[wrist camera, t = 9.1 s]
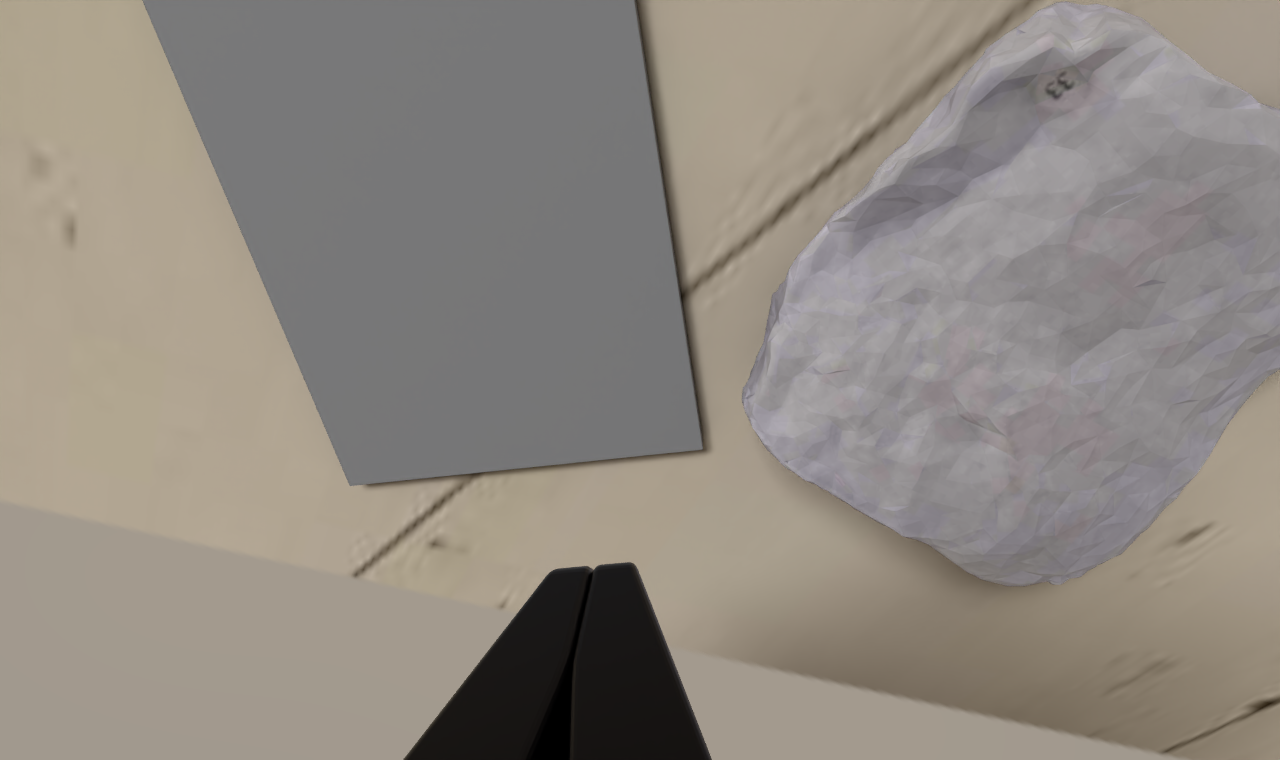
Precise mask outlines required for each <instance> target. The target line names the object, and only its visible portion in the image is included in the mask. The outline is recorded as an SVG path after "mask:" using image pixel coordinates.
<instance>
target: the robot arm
mask: <svg viewBox="0 0 1280 760" xmlns="http://www.w3.org/2000/svg"><path fill="white" fill-rule="evenodd" d="M404 760H712V759H711V756H710V754H709V751H708V748H707V746H706V743H705V741H704V738H703V736H702V733H701V730H700V728H699V725H698V723H697V720H696V718H695V715H694V712H693V710H692V708H691V705H690V702H689V700H688V697H687V695H686V692H685V689H684V687H683V684H682V682H681V679H680V677H679V674H678V671H677V669H676V667H675V664H674V661H673V659H672V656H671V654H670V651H669V648H668V646H667V643H666V641H665V638H664V636H663V633H662V630H661V628H660V625H659V623H658V620H657V618H656V615H655V612H654V610H653V607H652V605H651V602H650V600H649V597H648V594H647V592H646V589H645V587H644V584H643V582H642V579H641V576H640V574H639V571H638V569H637V567H636V565H635V564H633V563H631V562H627V563H616V564H604V565H599V566H597V567H596V568H595V569H594V570H593V569H592V568H590V567H588V566H582V567H571V568H560V569H555V570H553V571H551V572H550V573H549V574H548V575H547V576H546V577H545V579H544V580H543V581H542V582H541V584H540V585H539V586H538V588H537V589H536V590H535V591H534V593H533V594H532V595H531V597H530V598H529V599H528V600H527V602H526V603H525V604H524V606H523V607H522V608H521V609H520V611H519V612H518V613H517V615H516V616H515V617H514V618H513V620H512V621H511V622H510V624H509V625H508V626H507V627H506V629H505V630H504V631H503V633H502V634H501V635H500V636H499V638H498V639H497V640H496V642H495V643H494V644H493V645H492V647H491V648H490V649H489V650H488V652H487V653H486V654H485V656H484V657H483V658H482V660H481V661H480V662H479V663H478V665H477V666H476V667H475V669H474V670H473V671H472V672H471V674H470V675H469V676H468V677H467V679H466V680H465V681H464V683H463V684H462V685H461V686H460V688H459V689H458V690H457V691H456V693H455V694H454V695H453V697H452V698H451V699H450V701H449V702H448V703H447V704H446V706H445V707H444V708H443V709H442V711H441V712H440V713H439V715H438V716H437V717H436V718H435V720H434V721H433V722H432V724H431V725H430V726H429V728H428V729H427V730H426V731H425V733H424V734H423V735H422V736H421V738H420V739H419V740H418V742H417V743H416V744H415V745H414V747H413V748H412V749H411V751H410V752H409V753H408V754H407V756H406V757H405V758H404Z"/></svg>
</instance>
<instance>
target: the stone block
mask: <svg viewBox="0 0 1280 760" xmlns="http://www.w3.org/2000/svg"><path fill="white" fill-rule="evenodd" d="M1279 369H1280V109H1277V108H1274V107H1271V106H1267V105H1264V104H1261V103H1258V101H1257V100H1256V99H1255V98H1254V97H1253V96H1252V95H1251V94H1249V93H1247V92H1246V91H1244V90H1242V89H1241V88H1239V87H1237V86H1235V85H1234V84H1232V83H1230V82H1228V81H1226V80H1224V79H1222V78H1220V77H1217V76H1215V75H1213V74H1211V73H1209V72H1207V71H1206V70H1205V69H1204V68H1202V67H1201V66H1200V65H1199V64H1198V63H1197V62H1195V61H1194V60H1193V59H1192V58H1191V57H1189V56H1188V55H1187V54H1186V53H1184V52H1183V51H1182V50H1180V49H1179V48H1178V47H1176V46H1175V45H1174V44H1173V43H1171V42H1170V41H1169V40H1168V39H1166V38H1165V37H1164V36H1163V35H1162V34H1161V33H1160V32H1158V31H1157V30H1156V29H1155V28H1154V27H1152V26H1151V25H1150V24H1149V23H1148V22H1146V21H1145V20H1144V19H1143V18H1140V17H1138V16H1135V15H1132V14H1129V13H1126V12H1124V11H1121V10H1118V9H1115V8H1113V7H1109V6H1105V5H1100V4H1092V5H1078V4H1074V3H1070V2H1058V3H1054V4H1052V5H1050V6H1048V7H1046V8H1043V9H1041V10H1038V11H1037V12H1036V13H1035V14H1034V15H1033V16H1032V17H1031V18H1030V19H1029V20H1027V21H1026V22H1024V23H1022V24H1021V25H1019V26H1018V27H1016V28H1015V29H1013V30H1011V31H1010V32H1008V33H1007V34H1005V35H1004V36H1003V37H1001V38H1000V39H999V40H997V41H996V42H995V43H993V44H992V45H991V46H989V47H988V48H987V49H986V50H985V52H984V54H983V56H982V57H981V58H980V59H979V60H978V61H977V62H976V63H975V64H974V65H973V66H972V67H971V68H970V69H969V70H968V71H967V73H966V74H965V75H964V76H963V77H962V78H961V79H960V81H959V82H958V83H957V84H956V85H955V87H954V88H953V89H952V90H950V91H949V92H948V93H947V94H946V95H945V96H944V98H943V99H942V100H941V102H940V103H939V104H938V106H937V107H936V108H935V109H934V111H933V112H932V113H931V114H930V115H929V116H928V117H927V118H926V120H925V121H924V122H923V123H922V124H921V125H920V126H919V127H918V128H917V130H916V131H915V132H914V133H913V135H912V136H911V137H910V139H909V140H908V141H907V143H905V144H904V145H902V146H900V147H899V148H897V149H895V151H894V153H893V154H892V155H890V156H889V157H888V158H887V159H886V160H885V161H884V162H883V163H882V164H881V165H880V167H879V168H878V169H877V171H876V173H875V175H874V176H873V178H872V179H871V180H870V181H869V182H868V184H867V185H866V186H865V187H864V188H863V189H862V190H861V191H860V192H859V193H858V194H857V195H856V196H855V197H854V198H853V199H851V200H850V201H849V202H848V203H847V204H846V205H844V206H843V207H842V208H840V209H839V210H838V211H836V212H835V213H834V214H833V215H832V217H831V218H830V219H829V220H828V222H827V223H826V224H825V225H824V227H823V228H822V229H821V230H820V232H819V233H818V234H817V235H816V237H815V238H814V239H813V240H812V241H811V242H810V243H809V244H808V245H807V246H806V247H805V249H804V250H803V251H802V252H801V253H800V254H799V255H798V256H797V257H796V259H795V260H794V262H793V264H792V265H791V267H790V269H789V271H788V274H787V276H786V280H785V281H784V282H783V283H782V284H780V286H779V288H778V290H777V291H776V292H775V293H773V295H772V300H771V306H770V311H769V316H768V320H767V326H766V333H765V338H764V343H763V345H762V347H761V349H760V351H759V353H758V355H757V357H756V361H755V364H754V366H753V368H752V371H751V373H750V378H749V380H748V382H747V383H746V385H745V386H744V388H743V393H742V403H743V406H744V409H745V413H746V414H747V416H748V418H749V421H750V423H751V424H752V427H753V429H754V430H755V432H756V433H757V435H758V437H759V438H760V440H761V441H762V443H763V444H764V446H765V447H766V449H767V450H768V451H769V452H770V453H771V454H772V455H774V456H775V457H776V458H777V459H778V461H779V462H780V463H781V464H782V465H783V466H784V467H785V468H787V469H789V470H790V471H792V472H794V473H796V474H797V475H798V476H799V477H801V478H803V479H804V480H806V481H808V482H810V483H813V484H816V485H817V486H819V487H820V488H821V489H824V490H827V491H828V492H829V493H831V494H832V495H834V496H836V497H838V498H839V499H841V500H842V501H844V502H846V503H847V504H849V505H850V506H852V507H853V508H855V509H856V510H858V511H860V512H862V513H863V514H865V515H867V516H868V517H870V518H872V519H874V520H875V521H877V522H879V523H881V524H883V525H885V526H887V527H889V528H891V529H893V530H894V531H896V532H897V533H899V534H900V535H902V536H903V537H907V538H911V539H915V540H918V541H921V542H923V543H926V544H928V545H930V546H931V547H932V548H934V549H935V550H936V551H938V552H939V553H941V554H942V555H944V556H945V557H946V558H948V559H949V560H951V561H952V562H953V563H955V564H956V565H958V566H959V567H961V568H962V569H964V570H965V571H966V572H968V573H970V574H972V575H974V576H976V577H978V578H980V579H982V580H985V581H989V582H993V583H998V584H1002V585H1005V586H1027V585H1032V584H1036V583H1041V582H1046V581H1047V582H1049V583H1051V584H1063V583H1064V582H1065V581H1067V580H1068V579H1071V578H1076V577H1081V576H1082V575H1083V574H1084V573H1086V572H1087V571H1088V570H1090V569H1093V568H1095V567H1096V566H1097V565H1099V564H1102V563H1104V562H1105V561H1107V560H1109V559H1111V558H1113V557H1115V556H1118V555H1120V554H1122V553H1123V552H1124V551H1125V550H1126V549H1127V548H1128V547H1129V546H1130V545H1131V544H1132V543H1133V541H1134V540H1135V539H1136V538H1137V537H1138V536H1139V535H1140V534H1141V533H1142V532H1144V531H1145V530H1147V529H1148V528H1149V527H1150V525H1151V524H1152V523H1153V522H1154V521H1155V519H1156V518H1157V517H1158V516H1159V514H1160V513H1161V512H1162V511H1163V510H1164V508H1165V507H1166V506H1168V505H1169V504H1170V503H1171V502H1173V501H1174V500H1175V499H1176V498H1177V497H1178V495H1179V494H1180V492H1181V491H1182V490H1183V488H1184V487H1185V486H1186V485H1187V484H1188V483H1189V482H1190V481H1191V480H1192V479H1193V478H1194V477H1195V475H1196V474H1197V473H1198V471H1199V470H1200V468H1201V467H1202V466H1203V464H1204V463H1205V461H1206V460H1207V458H1208V457H1209V455H1210V454H1211V452H1212V450H1213V448H1214V447H1215V445H1216V443H1217V441H1218V440H1219V438H1220V436H1221V435H1222V433H1223V431H1224V430H1225V428H1226V426H1227V425H1228V423H1229V422H1230V421H1231V419H1232V418H1233V417H1234V415H1235V414H1236V413H1237V411H1238V410H1239V409H1240V408H1241V406H1242V405H1243V404H1244V403H1245V401H1246V400H1247V399H1248V398H1249V397H1250V395H1251V394H1252V393H1253V392H1254V391H1255V390H1256V389H1257V388H1258V386H1259V385H1260V384H1261V383H1262V382H1263V381H1264V380H1265V379H1266V378H1267V377H1268V376H1270V375H1271V374H1273V373H1275V372H1276V371H1278V370H1279Z"/></svg>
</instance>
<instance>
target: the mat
mask: <svg viewBox="0 0 1280 760" xmlns="http://www.w3.org/2000/svg"><path fill="white" fill-rule="evenodd" d="M142 1H143V3H144V5H145V8H146V10H147V12H148V15H149V17H150V19H151V22H152V24H153V26H154V29H155V31H156V33H157V36H158V38H159V40H160V43H161V45H162V47H163V50H164V52H165V54H166V57H167V59H168V61H169V64H170V66H171V68H172V71H173V73H174V75H175V78H176V80H177V83H178V85H179V87H180V90H181V92H182V94H183V97H184V99H185V101H186V104H187V106H188V108H189V111H190V113H191V115H192V118H193V120H194V122H195V125H196V127H197V129H198V132H199V134H200V136H201V139H202V141H203V143H204V146H205V148H206V150H207V153H208V155H209V157H210V160H211V162H212V164H213V167H214V169H215V171H216V174H217V176H218V178H219V181H220V183H221V185H222V188H223V190H224V192H225V195H226V197H227V200H228V202H229V204H230V207H231V209H232V211H233V214H234V216H235V218H236V221H237V223H238V225H239V228H240V230H241V232H242V235H243V237H244V239H245V242H246V244H247V246H248V249H249V251H250V253H251V256H252V258H253V260H254V263H255V265H256V267H257V270H258V272H259V274H260V277H261V279H262V281H263V284H264V286H265V288H266V291H267V293H268V295H269V298H270V300H271V302H272V305H273V307H274V310H275V312H276V314H277V317H278V319H279V321H280V324H281V326H282V328H283V331H284V333H285V335H286V338H287V340H288V342H289V345H290V347H291V349H292V352H293V354H294V356H295V359H296V361H297V363H298V366H299V368H300V370H301V373H302V375H303V377H304V380H305V382H306V384H307V387H308V389H309V391H310V394H311V396H312V398H313V401H314V403H315V405H316V408H317V410H318V412H319V415H320V417H321V419H322V422H323V424H324V427H325V429H326V431H327V434H328V436H329V438H330V441H331V443H332V445H333V448H334V450H335V452H336V455H337V457H338V459H339V462H340V464H341V466H342V469H343V471H344V473H345V476H346V478H347V480H348V483H349V485H350V486H354V485H363V484H373V483H383V482H392V481H402V480H412V479H421V478H431V477H441V476H451V475H460V474H470V473H480V472H489V471H499V470H509V469H518V468H528V467H538V466H548V465H557V464H567V463H577V462H586V461H596V460H606V459H615V458H625V457H635V456H645V455H654V454H664V453H674V452H683V451H693V450H703V438H702V432H701V425H700V418H699V412H698V405H697V399H696V392H695V386H694V379H693V372H692V366H691V359H690V353H689V346H688V339H687V333H686V326H685V320H684V313H683V306H682V300H681V293H680V287H679V280H678V274H677V267H676V260H675V254H674V247H673V241H672V234H671V227H670V221H669V214H668V208H667V201H666V195H665V188H664V181H663V175H662V168H661V162H660V155H659V148H658V142H657V135H656V129H655V122H654V116H653V109H652V102H651V96H650V89H649V83H648V76H647V69H646V63H645V56H644V50H643V43H642V37H641V30H640V23H639V17H638V10H637V4H636V0H142Z"/></svg>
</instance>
